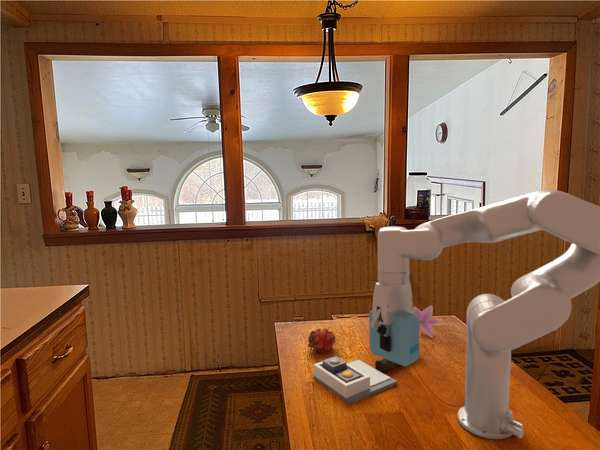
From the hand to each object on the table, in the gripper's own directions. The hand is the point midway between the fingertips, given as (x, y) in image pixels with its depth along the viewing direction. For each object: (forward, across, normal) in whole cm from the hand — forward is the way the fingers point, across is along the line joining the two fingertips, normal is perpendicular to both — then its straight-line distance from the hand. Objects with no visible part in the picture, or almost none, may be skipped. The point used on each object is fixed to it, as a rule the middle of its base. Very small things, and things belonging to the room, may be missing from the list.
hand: (393, 346), depth 102 cm
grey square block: (+14, +3, -20) cm, 25 cm away
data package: (+3, 0, 0) cm, 3 cm away
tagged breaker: (+16, +4, -14) cm, 21 cm away
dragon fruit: (+17, -6, -39) cm, 43 cm away
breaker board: (+17, -1, -17) cm, 24 cm away
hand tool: (+18, -20, -17) cm, 32 cm away
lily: (+17, -45, -30) cm, 57 cm away
